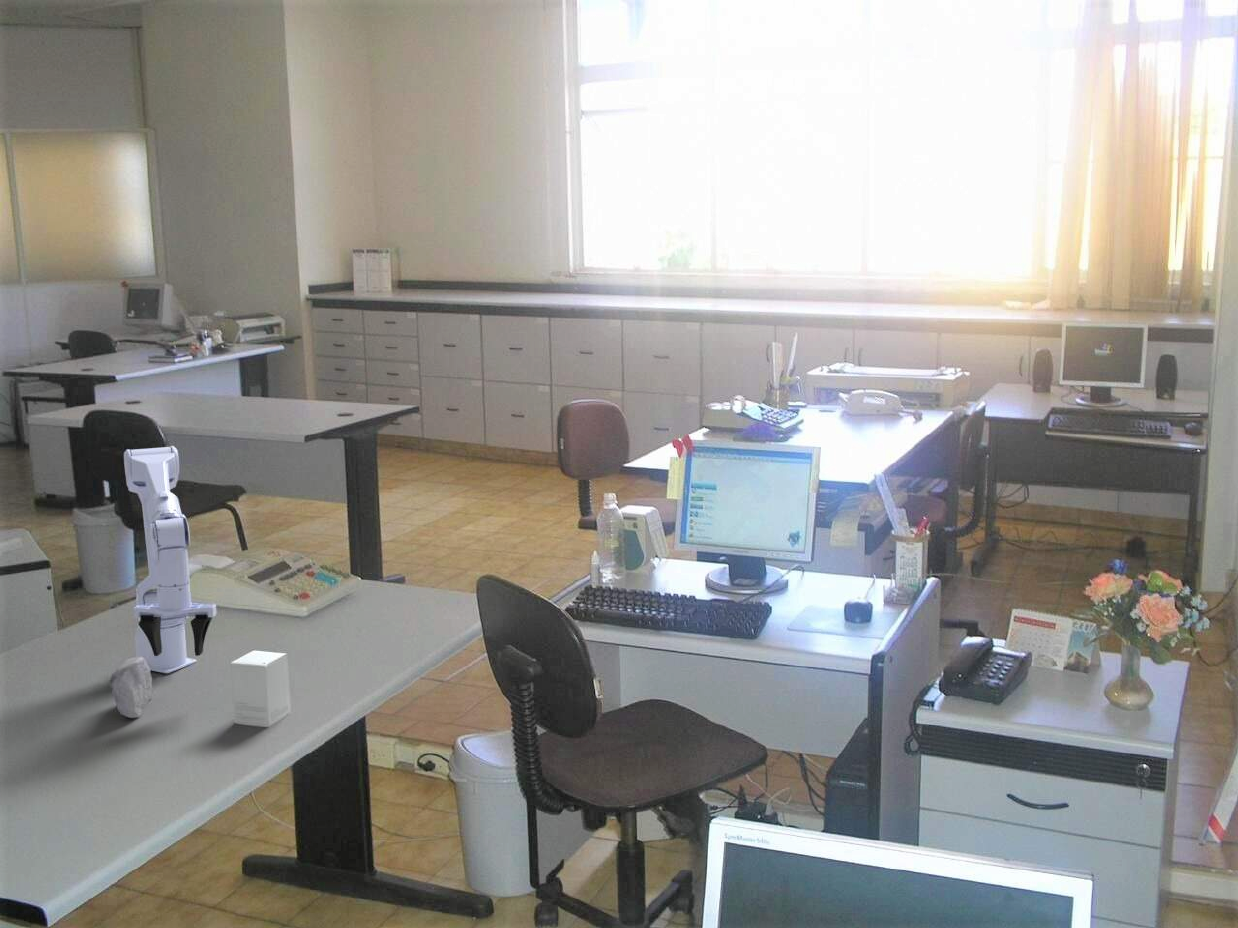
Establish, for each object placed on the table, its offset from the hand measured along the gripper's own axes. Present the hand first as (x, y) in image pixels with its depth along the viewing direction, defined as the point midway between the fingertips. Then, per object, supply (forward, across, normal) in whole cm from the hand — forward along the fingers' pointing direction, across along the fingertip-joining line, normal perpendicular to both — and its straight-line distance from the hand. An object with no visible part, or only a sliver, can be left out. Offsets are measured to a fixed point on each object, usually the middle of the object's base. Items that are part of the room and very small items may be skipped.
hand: (178, 654), depth 232 cm
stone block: (+11, -8, -3) cm, 14 cm away
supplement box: (+11, +18, -8) cm, 22 cm away
